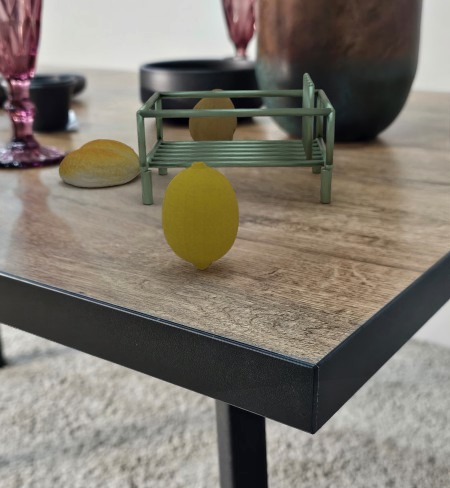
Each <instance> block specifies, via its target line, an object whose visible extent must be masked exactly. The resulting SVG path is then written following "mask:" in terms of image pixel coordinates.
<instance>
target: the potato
mask: <svg viewBox="0 0 450 488" xmlns="http://www.w3.org/2000/svg"><path fill="white" fill-rule="evenodd" d="M211 91H224V89H221V88H215V89H214V88H213V89H212V90H211ZM192 109H236V108H235V105H234V103H233V102H232V100H231V97H230V98H201V99H200V100H199V101H197V103H196V104H195V106H194V107H193V108H192ZM237 126H238V117H189V120H188V131H189V135H190V137H191V139H192V141H234V135H235V133H236V130H237Z"/></svg>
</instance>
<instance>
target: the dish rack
mask: <svg viewBox="0 0 450 488" xmlns="http://www.w3.org/2000/svg"><path fill="white" fill-rule="evenodd" d="M292 97H293V98H297V97H298V98H302V107H290V108H287V107H285V108H283V107H280V108H279V107H278V108H235V109H193V108H192V109H162V99H203V98H230V99H231V98H292ZM315 97H316V107H315ZM153 106H154V109H152V107H153ZM135 115H136V132H137V146H138V156H139V170H140V179H141V181H140V182H141V195H142V204H143V205H152V204H154V190H153V174H152V170H151V169H158V171H157V172H158V175H161V176H166V175H168V174H169V173H168V169H186V168H189V167H191V166H192V164H193V163H194V162H204V163H205V165H206V166H208V167H211V168H213V169H215V168H217V169H218V168H220V169H221V168H311V173H312V174H314V175H315V174H320V192H319V203H321V204H330V203H331V202H332V177H333V176H332V175H333V169H334V150H335V149H334V148H335V147H334V146H335V125H336V124H335V123H336V122H335V120H336V110H335V108H334V107H333V105H332V103H331V101H330V100H329V98H328V96H327V95H326V93H325V91H324V89H315V83H314V82H313V80H312V78H311V76H310V74H309V73H308V72H305V73H304V74H303V76H302V89H255V90H254V89H253V90H252V89H251V90H249V89H248V90H223V91H212V90H179V91H177V90H176V91H175V90H174V91H173V90H172V91H171V90H170V91H155V92H154V93H153V94H152V95H151V96H150V97H149V98H148V100H147V101H145V102H144V103H143V104H142V105H141V107H140V108H139V109H138V110H137V111H136V113H135ZM190 117H237V118H256V117H257V118H258V117H259V118H260V117H261V118H262V117H267V118H268V117H302V118H301V119H302V121H301V139H274V140H273V139H269V140H268V139H264V140H263V139H261V140H260V139H259V140H256V139H255V140H251V139H250V140H247V139H246V140H245V139H244V140H233V141H194V140H164V133H163V132H164V131H163V129H164V128H163V118H164V119H166V118H167V119H169V118H170V119H171V118H173V119H174V118H175V119H176V118H181V119H182V118H190ZM314 117H316V118H314ZM324 117H326V131H325V132H326V133H325V134H326V135H325V142H324V139H323V135H324V134H323V133H324V132H323V131H324ZM145 119H155V130H156V131H155V132H156V133H155V136H156V139H155V142H154V144H153V145H152V146H151V147H150V150H149V151H148V153H147V144H146V142H147V141H146V126H145V125H146V124H145ZM314 119H316V121H315V122H316V123H315V124H316V125H315V139H314Z"/></svg>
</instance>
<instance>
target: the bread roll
mask: <svg viewBox="0 0 450 488" xmlns="http://www.w3.org/2000/svg"><path fill="white" fill-rule="evenodd" d="M140 174H141V171H140V170H139V154H138V153H137V152H136V151H135V150H134V148H132V147H131V146H129V145H128V144H126V143H124V142H121V141H118V140H115V139H107V138H106V139H105V138H98V139H94V140H90V141H88V142H85V143H84V144H82V145H81V146H80V147H79V148H77V149H74V150H72V151H70V152H69V153H68V154H67V155H66V156H64V158H63V159H62V160H61V162H60V163H59V167H58V175H59V178H60V179H61V180H62V181H63V182H65V183H66V184H69V185H72V186H74V187H79V188H90V189H91V188H104V187H112V186H113V187H114V186H119V185H124V184H127V183H129V182H131V181H132V180H134V179H135V178H136V177H138V176H139V175H140Z"/></svg>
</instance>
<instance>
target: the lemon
mask: <svg viewBox="0 0 450 488" xmlns="http://www.w3.org/2000/svg"><path fill="white" fill-rule="evenodd" d="M164 192H165V193H164V195H163V200H162V207H161V225H162V232H163V235H164V238H165V240H166V243H167V244H168V247H169V248H170V249H171V250H172V252H173V253H174V254H175V255H176V256H177V257H179V258H180V259H181V260H184V261H186V262H188V263H191V264H192V265H193V266H194V267H195V268H196V269H198V270H206V269H207V268H208V267H209V266H210V265H211V264H212V263H213V262H216V261H218V260H220V259H222V258H223V257H224V256H225V255H227V253H228V252H229V251H230V250H231V249H232V247H233V246H234V244H235V242H236V239H237V236H238V231H239V227H240V226H239V225H240V209H239V203H238V198H237V194H236V192H235V190H234V187H233V185H232V183H231V182H230V181H229V179H228V178H227V176H226V175H224V174H223V173H222V172H220V171H219V170H218V169H215V168H211V167H208V166H206V165H205V163H204V162H194V163H193V164H192V166H191V167H189V168H183V169H182V170H181V171H179V172H178V173H177V174H176V175H175V176H174V177H172V179H171V180H170V182H168V184H167V186H166V188H165V191H164Z"/></svg>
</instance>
